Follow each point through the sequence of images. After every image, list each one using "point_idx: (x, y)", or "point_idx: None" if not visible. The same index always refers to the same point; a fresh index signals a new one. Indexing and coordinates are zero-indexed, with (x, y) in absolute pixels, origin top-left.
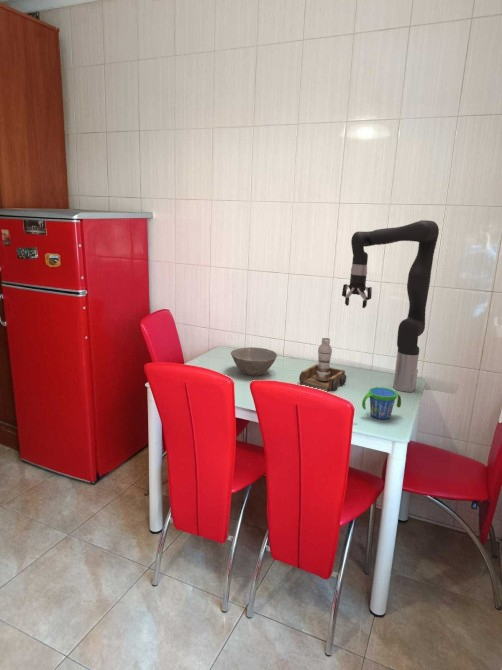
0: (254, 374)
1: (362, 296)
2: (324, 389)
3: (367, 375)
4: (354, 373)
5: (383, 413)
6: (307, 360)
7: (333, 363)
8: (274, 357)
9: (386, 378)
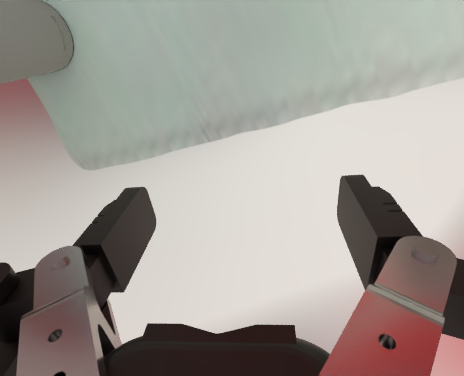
0: None
1: (70, 297)
2: None
3: (184, 72)
4: (224, 56)
5: None
6: (433, 62)
7: (330, 105)
8: None
9: (131, 91)
